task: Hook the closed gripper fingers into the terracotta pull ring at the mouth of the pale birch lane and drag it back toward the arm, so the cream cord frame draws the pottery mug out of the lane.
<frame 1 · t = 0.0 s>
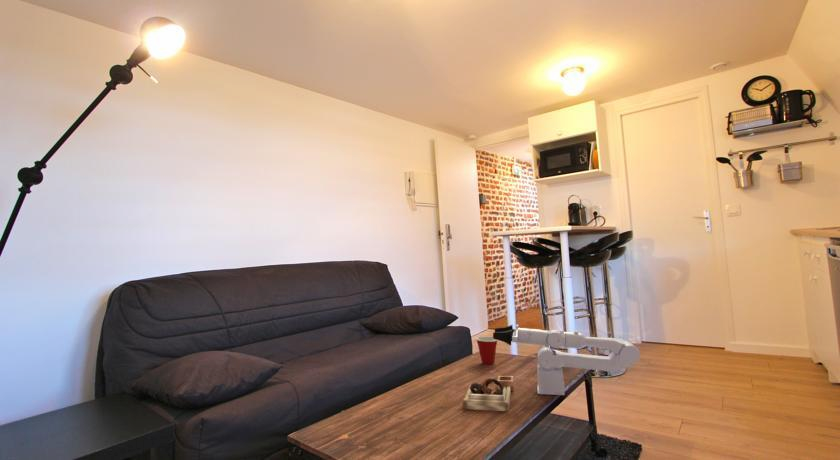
hand: (493, 333, 154), 22 cm above the table, tool horizontal, fingers open, 7 cm apart
pull frame: (492, 389, 146), point 2 cm above the table, slide at 0.0 cm, touching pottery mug
plastic cup: (488, 363, 187), on the table
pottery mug: (487, 399, 143), on the table, touching pull frame
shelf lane: (487, 399, 143), on the table
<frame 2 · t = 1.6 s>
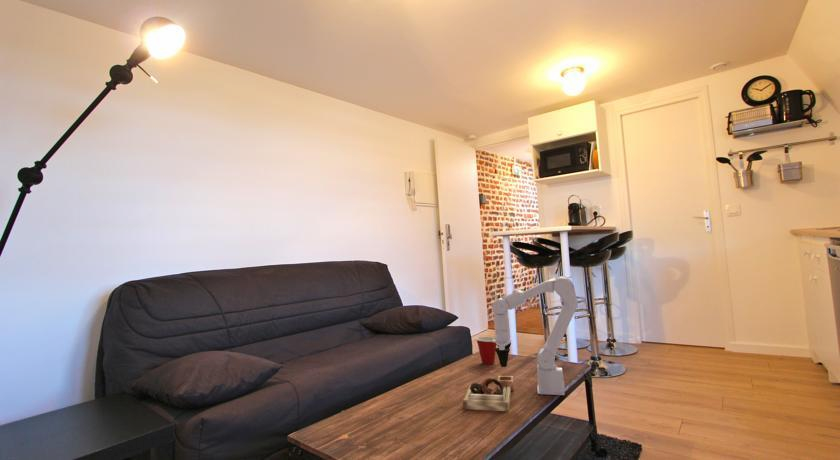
hand: (504, 363, 154), 9 cm above the table, tool pointing down, fingers open, 7 cm apart
nothing on the table moved.
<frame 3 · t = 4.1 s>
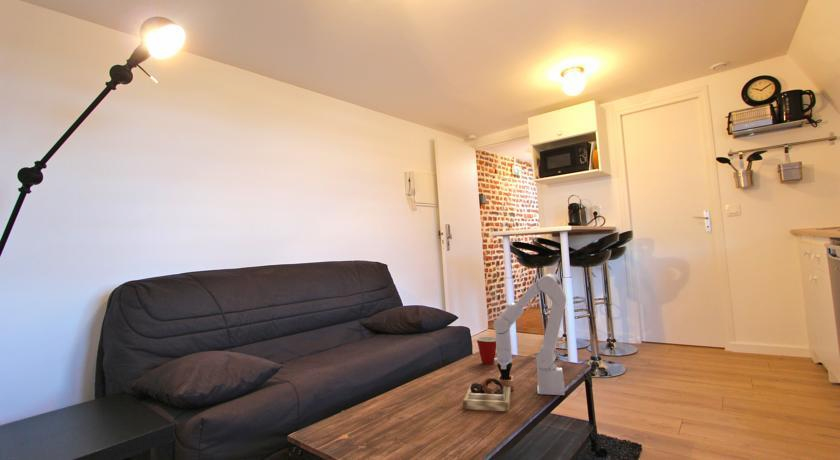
hand: (505, 382, 155), 2 cm above the table, tool pointing down, fingers closed
pull frame: (492, 389, 147), point 2 cm above the table, slide at 0.6 cm, touching gripper
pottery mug: (487, 399, 143), on the table
everything else where it was.
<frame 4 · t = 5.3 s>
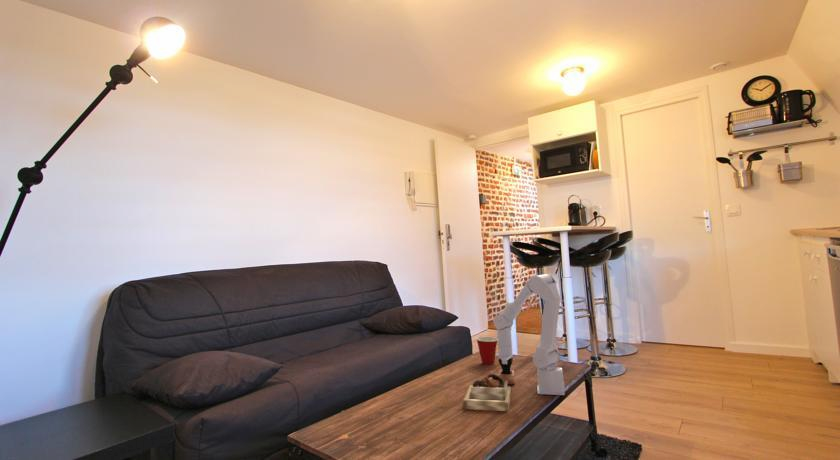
hand: (506, 376, 161), 2 cm above the table, tool pointing down, fingers closed
pull frame: (494, 383, 153), point 2 cm above the table, slide at 7.1 cm, touching gripper, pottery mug
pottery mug: (488, 395, 147), on the table, touching pull frame
everything else where it was.
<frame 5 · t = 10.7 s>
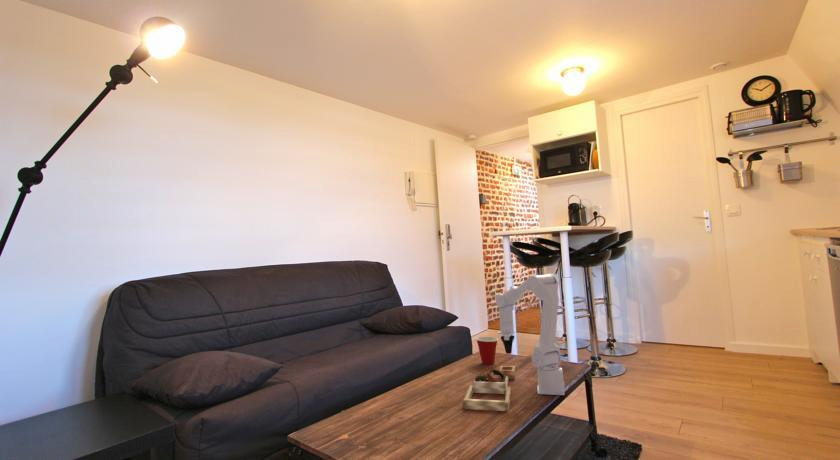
hand: (508, 353, 168), 9 cm above the table, tool pointing down, fingers closed
pull frame: (495, 378, 159), point 2 cm above the table, slide at 13.0 cm, touching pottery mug
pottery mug: (490, 389, 153), on the table, touching pull frame
everything else where it was.
at the end: pull frame slide at 13.0 cm; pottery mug inside the target area (2.2 cm from its centre), on the table; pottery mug tilted 1° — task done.
